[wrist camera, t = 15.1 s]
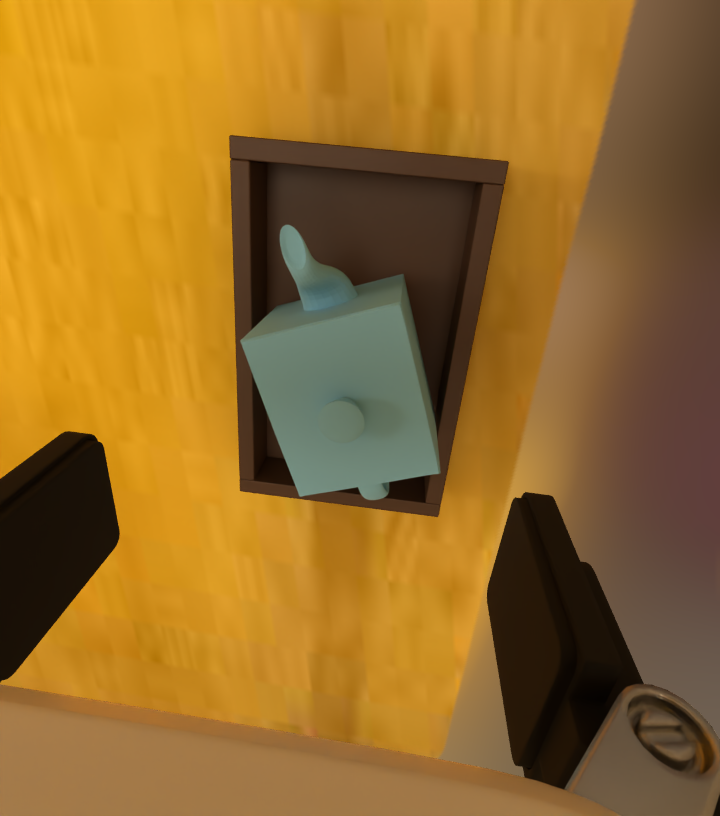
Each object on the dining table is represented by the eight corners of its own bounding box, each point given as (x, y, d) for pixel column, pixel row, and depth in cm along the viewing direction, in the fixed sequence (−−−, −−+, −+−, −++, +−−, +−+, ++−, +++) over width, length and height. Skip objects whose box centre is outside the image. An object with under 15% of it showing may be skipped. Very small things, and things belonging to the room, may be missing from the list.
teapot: (258, 230, 22) (190, 253, 15) (386, 192, 21) (374, 199, 14) (331, 450, 27) (304, 542, 20) (439, 430, 26) (449, 521, 19)
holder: (253, 140, 21) (228, 134, 18) (495, 163, 20) (509, 161, 18) (256, 460, 28) (239, 491, 25) (435, 483, 28) (438, 517, 25)
